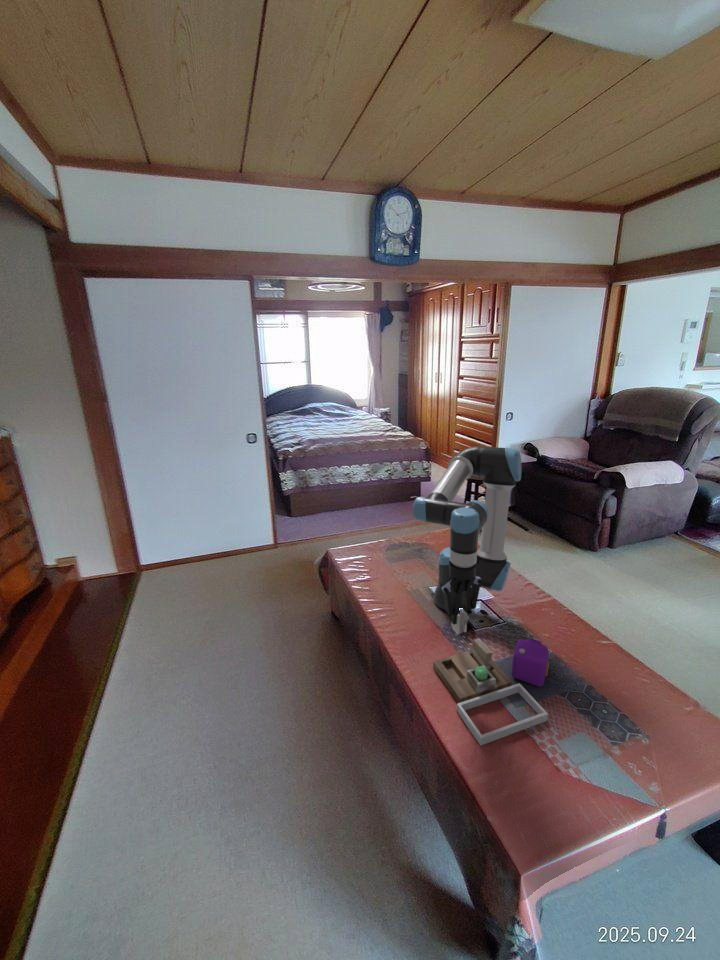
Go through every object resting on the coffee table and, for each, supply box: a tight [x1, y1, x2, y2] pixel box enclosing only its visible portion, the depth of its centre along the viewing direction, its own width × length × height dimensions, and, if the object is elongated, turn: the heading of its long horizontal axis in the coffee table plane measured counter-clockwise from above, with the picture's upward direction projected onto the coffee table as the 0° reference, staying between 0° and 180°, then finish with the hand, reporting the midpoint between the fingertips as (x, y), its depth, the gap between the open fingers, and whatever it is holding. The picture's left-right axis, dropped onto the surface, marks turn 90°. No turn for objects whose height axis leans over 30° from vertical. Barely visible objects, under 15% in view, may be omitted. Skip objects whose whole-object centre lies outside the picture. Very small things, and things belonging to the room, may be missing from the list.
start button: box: [475, 666, 488, 682], centre depth 122 cm, size 4×4×4 cm
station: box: [432, 638, 513, 704], centre depth 127 cm, size 18×16×8 cm
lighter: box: [450, 614, 470, 635], centre depth 122 cm, size 7×2×8 cm, turn 20°
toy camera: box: [511, 638, 550, 687], centre depth 129 cm, size 11×14×10 cm
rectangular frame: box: [456, 683, 549, 747], centre depth 114 cm, size 22×12×2 cm, turn 109°
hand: (459, 630), depth 123 cm, fingers closed on lighter, 2 cm apart
